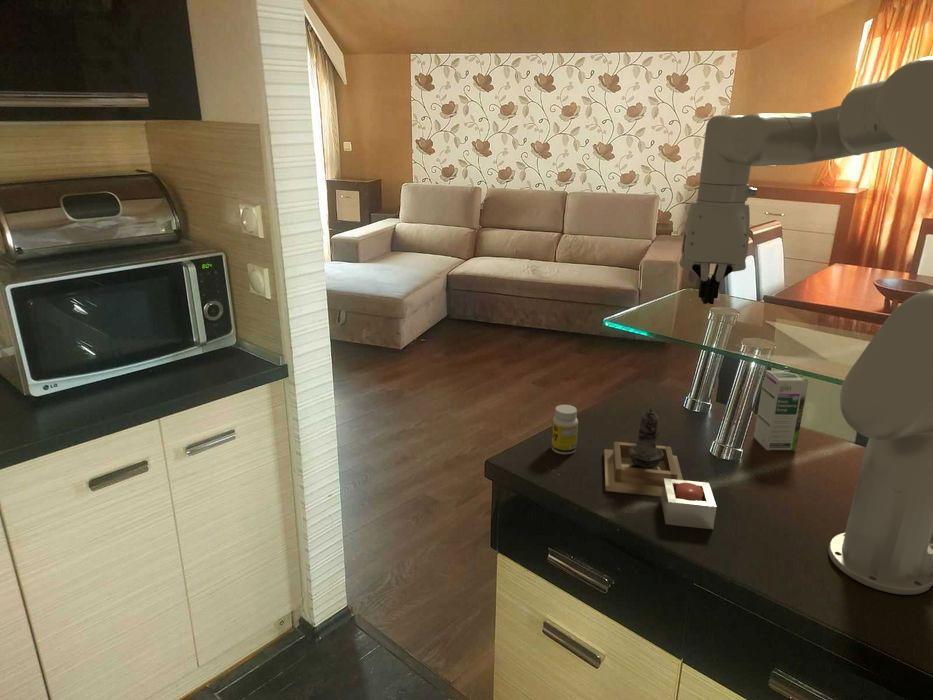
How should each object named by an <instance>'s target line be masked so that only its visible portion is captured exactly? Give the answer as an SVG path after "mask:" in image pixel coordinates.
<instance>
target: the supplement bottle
mask: <svg viewBox="0 0 933 700" xmlns="http://www.w3.org/2000/svg"><path fill="white" fill-rule="evenodd" d="M577 416H578V410H577V407H575V406H574V405H570V404H559V405H557V406H556V407H555V409H554V416H553V418H552V426H551V427H552V428H551V443H550V444H551V446H550V447H551V450H552V451H553V452H555V453H556V454H559V455H570V454H573V453H575V452H577V445H578V433H579V432H578V429H579V420H578V418H577Z"/></svg>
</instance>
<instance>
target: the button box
mask: <svg viewBox="0 0 933 700" xmlns="http://www.w3.org/2000/svg"><path fill="white" fill-rule="evenodd" d="M680 483H692V484H695V485H697V486H699V487H700V488H702V490H703V496H702V501H695V500H685V499H676V497H675V493H676V486H677V485H678V484H680ZM660 497H661V499H660V502H661V506H662V512H663V517H664V523H665V525H669V526H679V527H686V528H687V527H688V528H696V529H697V528H698V529H707V530H714V527H715V526H714V524H715V520H716V513H717V508H718V507H717V504H716V501H715V498H714V494H713V491H712V488H711V485H710V482H704V481H695V480H694V481H693V480H684V479H683V480H675V479H665V478H664V481H663V489H662V496H660Z"/></svg>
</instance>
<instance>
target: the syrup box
mask: <svg viewBox="0 0 933 700" xmlns="http://www.w3.org/2000/svg"><path fill="white" fill-rule="evenodd" d="M765 371H766V373H765V377H764V380H763V379H762V385H761V390H760V397H759V403H758V404H759V405H758V409H757V415H756V420H755V421H756V422H755V428H754V435H753V438H754V439H755V440H756V441H757V442H758V443H759V444H760V445H761V447H762V448H764V450H766V451H768V452H769V451H796V450H797V444H798V439H799V433H800V429H801V423H802V419H803V415H804V414H803V412H804V408H805V401H806V397H807V392H808V386H809V380H808V378H807V377H805V376H803V375H802V374H801V375H802V376H801V375H797V374H793V373H789V372H784V371H785V370H770V369H769V370H765Z"/></svg>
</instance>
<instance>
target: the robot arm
mask: <svg viewBox="0 0 933 700" xmlns="http://www.w3.org/2000/svg"><path fill="white" fill-rule="evenodd" d="M902 147H903V148H904V149H906V150H907V151H908V152H909V153H910V154H912V155H913V156H914V157H916V158H917V159H918V160H919V161H921V162H922V163H923V164H924V165H926V166H927V167H929V169H931V170H933V55H932V56H924V57H921V58H918V59H914V60H911V61H909V62H908V63H906V64H904V65H902V66H901V67H899V68H898V69H896V70H895V71H894V72H893V73H892V74H890V76H888V77H887V79H883V80H880V81H877V82H876V81H875V82H872V83H868V84H863V85H859V86H857V87H855V88H853V89H852V90H850V91H849V92H848V93H847V94H846V96H845V97H844V98H843V99H842V101H841V103H840V105H838V106H833V107H829V108H826V109H822V110H817V111H812V112H805V113H789V112H787V113H783V112H782V113H780V112H777V113H776V112H774V113H773V112H772V113H769V112H768V113H766V112H765V113H764V112H763V113H762V112H761V113H752V114H747V115H742V114H741V115H740V114H738V115H737V114H731V115H730V114H726V115H725V114H723V115H719V114H718V115H714V116H712V117H710V118H709V119H708V121H707V124H706V127H705V132H704V142H703V150H702V159H701V166H700V176H699V184H698V190H697V191H698V192H697V198H696V200H693V201H691V203H690V205H689V209H688V213H687V217H686V221H685V226H684V230H683V237H682V244H681V254H682V255H681V258H680V261H678V262H679V266H680V268H683V269H687V270H688V271H689V270H690V271H693V272H694V273H695V274H696V275H697V277H699V288H698V299H699V298H700V300H701V302H702V303H703V305H708V304H710V305H714V303H715V299H717V300H718V298H719V297H718V296H719V290H720V283H722V281H723V280H724V278H726V277H727V276H729V274H731V273H736V272H741V271H745V270H746V268H747V266H746V264H747V263H746V259H747V257H748V252H749V251H748V250H749V243H750V241H749V240H750V225H751V224H750V222H751V221H750V219H751V217H750V216H751V215H750V204H749V203H748V202H747V200H748V199H749V198H751V197H756V196H757V190H758V189H757V188H755V187H754V188H753V187H751V186H750V185H749V180H750V173H751V168H752V167H768V166H769V167H770V166H797V165H805V164H807V165H808V164H811V163H817V162H819V163H820V162H824V161H830V160H836V159H842V158H848V157H851V156H861V155H863V154H868V153H869V154H870V153H876V152H881V151H888V150H891V149H897V148H898V149H899V148H902ZM709 264H712V265H713V264H714V265H715V266H714V269H713V273H712V275H711V277H710V276H709ZM839 405H840V411H841V414H842V416H843V419H844V420H845V421H846V423H847V425H849V427H850V428H851V429H852V430H853V431H855V432H856V433H858V434H859V435H862V436H864V437H866V438H868V440H867V443H866V447H865V451H864V453H863V454H864V455H863V458H862V461H861V462H862V463H861V466H860V469H859V474H858V479H857V482H856V486H855V490H854V495H853V498H852V502H851V508H850V512H849V515H848V520H847V524H846V528H845V532H843V533H839V534H837V535H835V536H834V537H832V539H830V541H829V544H828V545H829V546H828V548H827V549H828V555H829V558H830V560H831V561H832V563H833V564H834V565H835V566H836V567H837V568H838V569H839V570H841V572H843V574H845V575H847V576H848V577H850V578H851V579H853V580H855V581H857V582H858V583H861V584H862V585H865V586H867V587H870V588H872V589H874V590H878V591H881V592H886V593H889V594H896V595H904V596H905V595H910V596H911V595H919V594H922V593H924V592H927V591H928V590H929V589H930V588H931V587H932V586H933V543H931V538H932V535H933V288H931V289H927V290H923V291H921V292H919V293H916V294H914V295H913V296H910V297H909V298H907V299H906V300H904V301H903V302H902V303H901V304H900V305H898V306H897V307H896V308H895V309H894V310H893V311H892V312H891V313H890V314H889V316H888V317H887V318H886V319H885V321H884V322H883V324H881V326H880V327H879V329H878V331H877V332H876V333H875V335H874V336H873V337H872V339H871V340H870V342H869V343H868V344H867V346H866V347H865V349H864V350H863V351H862V353H861V354H860V356H859V357H858V359H857V360H856V361H855V363H854V364H853V365H852V367H851V368H850V369H849V371H848V373H847V375H846V376H845V378H844V380H843V382H842V384H841V388H840V392H839Z"/></svg>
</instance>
